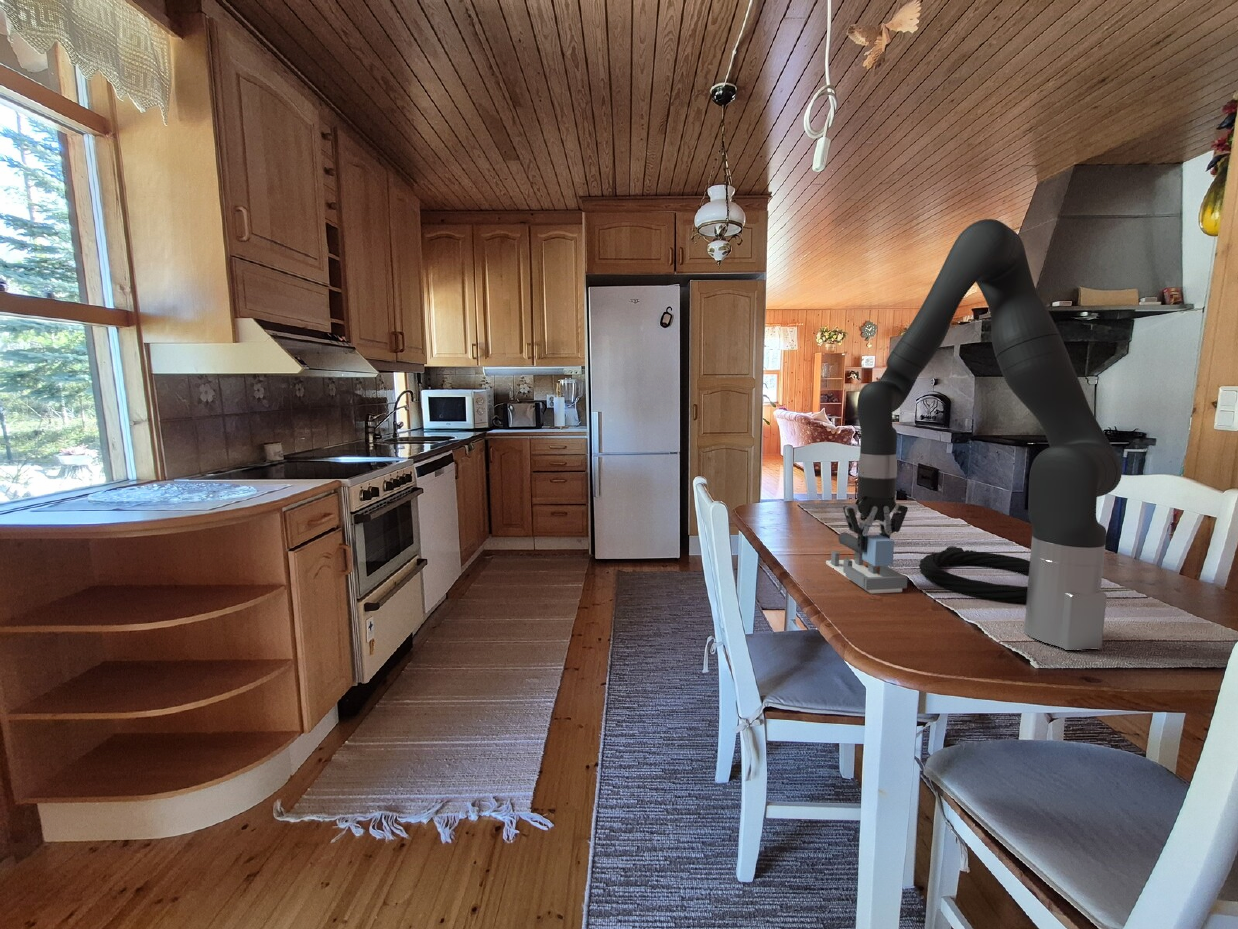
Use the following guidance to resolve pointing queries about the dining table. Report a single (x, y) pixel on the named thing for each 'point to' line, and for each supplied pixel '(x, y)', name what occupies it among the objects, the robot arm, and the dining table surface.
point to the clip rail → (868, 574)
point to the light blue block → (872, 548)
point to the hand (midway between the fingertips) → (873, 550)
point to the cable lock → (974, 587)
